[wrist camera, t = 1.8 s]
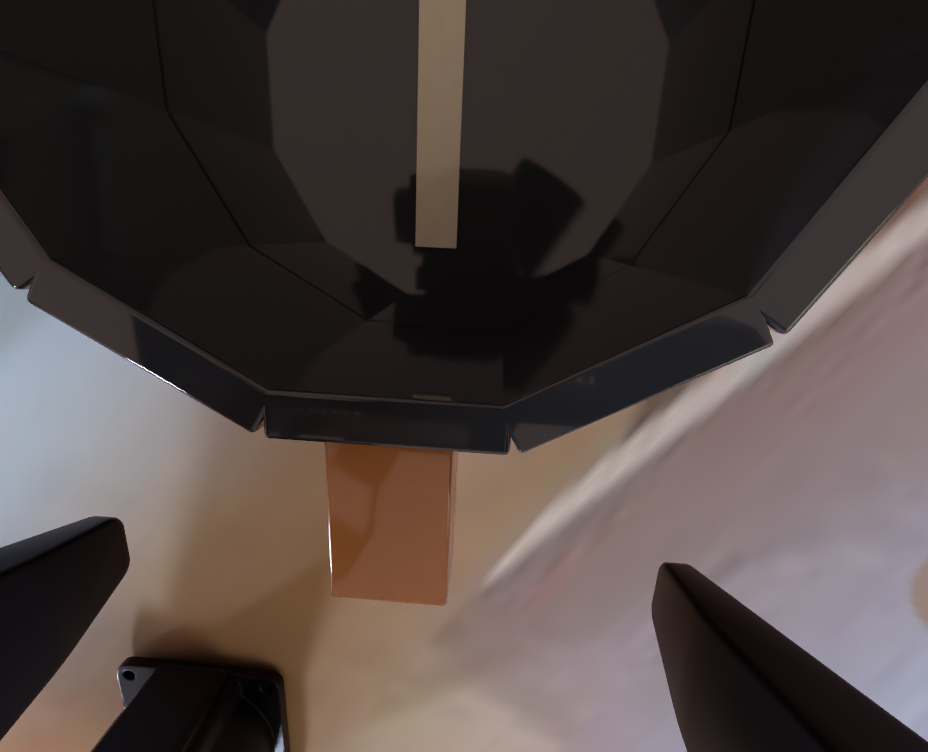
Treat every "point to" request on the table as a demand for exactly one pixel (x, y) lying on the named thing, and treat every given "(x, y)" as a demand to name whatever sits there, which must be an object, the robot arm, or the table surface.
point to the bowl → (444, 213)
